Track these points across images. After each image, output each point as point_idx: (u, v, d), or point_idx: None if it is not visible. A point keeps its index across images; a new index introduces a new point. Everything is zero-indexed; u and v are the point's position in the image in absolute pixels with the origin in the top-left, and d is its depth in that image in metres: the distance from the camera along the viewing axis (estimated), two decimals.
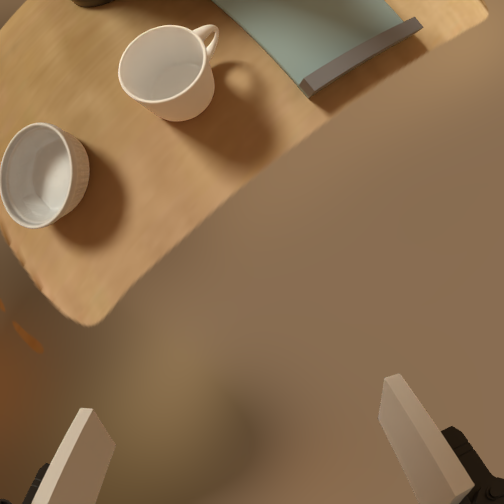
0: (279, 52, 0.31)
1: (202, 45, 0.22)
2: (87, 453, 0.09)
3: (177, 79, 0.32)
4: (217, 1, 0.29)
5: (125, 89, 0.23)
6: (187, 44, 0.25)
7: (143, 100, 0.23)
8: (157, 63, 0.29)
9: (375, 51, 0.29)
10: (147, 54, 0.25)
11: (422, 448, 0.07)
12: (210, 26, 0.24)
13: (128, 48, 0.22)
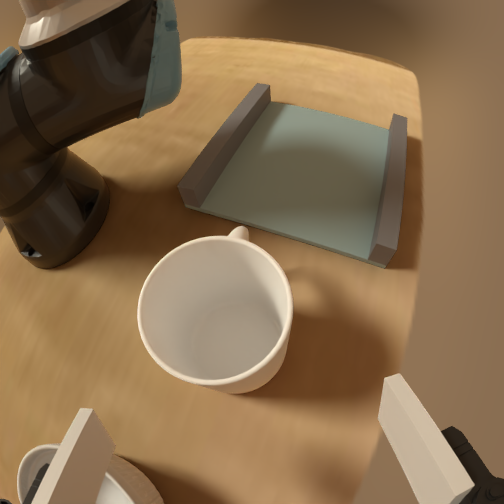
0: (321, 234, 0.29)
1: (262, 251, 0.17)
2: (87, 453, 0.09)
3: (222, 331, 0.25)
4: (210, 209, 0.31)
5: (175, 373, 0.14)
6: (221, 269, 0.21)
7: (220, 381, 0.14)
8: (185, 318, 0.23)
9: (403, 168, 0.29)
10: (170, 306, 0.20)
11: (422, 448, 0.07)
12: (242, 227, 0.21)
13: (142, 300, 0.16)
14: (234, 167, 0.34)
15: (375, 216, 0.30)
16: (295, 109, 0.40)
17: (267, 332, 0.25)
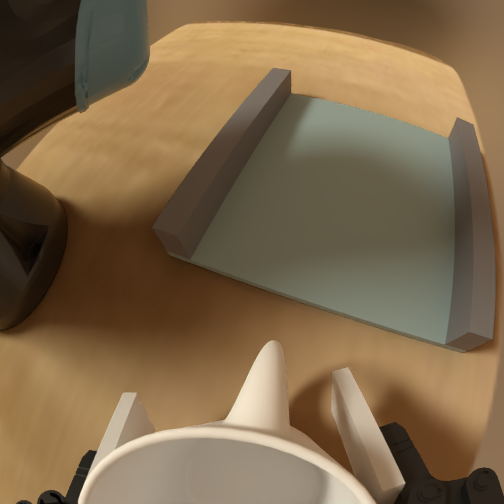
0: (382, 308, 0.17)
1: (333, 471, 0.05)
2: (133, 437, 0.10)
3: (230, 464, 0.14)
4: (206, 261, 0.20)
5: None
6: None
7: None
8: (173, 462, 0.12)
9: (488, 201, 0.17)
10: (142, 480, 0.08)
11: (359, 440, 0.08)
12: (274, 359, 0.09)
13: None
14: (244, 189, 0.23)
15: (452, 272, 0.18)
16: (326, 104, 0.28)
17: (300, 466, 0.13)
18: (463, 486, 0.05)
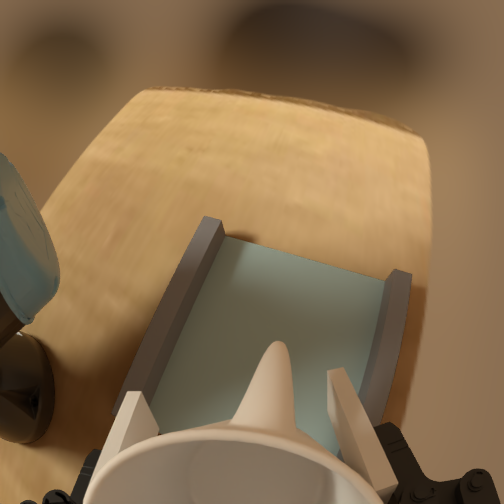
0: None
1: (341, 471, 0.05)
2: (138, 435, 0.10)
3: (233, 464, 0.14)
4: None
5: None
6: None
7: None
8: (176, 463, 0.12)
9: (388, 387, 0.21)
10: (146, 481, 0.08)
11: (353, 440, 0.08)
12: (279, 359, 0.09)
13: None
14: (176, 368, 0.27)
15: None
16: (258, 253, 0.32)
17: (303, 466, 0.13)
18: (457, 487, 0.05)
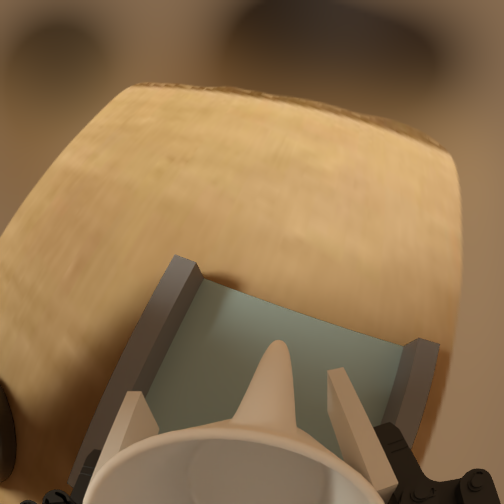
0: None
1: (342, 470, 0.05)
2: (138, 435, 0.10)
3: (233, 464, 0.14)
4: None
5: None
6: None
7: None
8: (176, 463, 0.12)
9: None
10: (146, 481, 0.08)
11: (352, 440, 0.08)
12: (280, 358, 0.09)
13: None
14: None
15: None
16: (243, 305, 0.24)
17: (303, 466, 0.13)
18: (457, 487, 0.05)
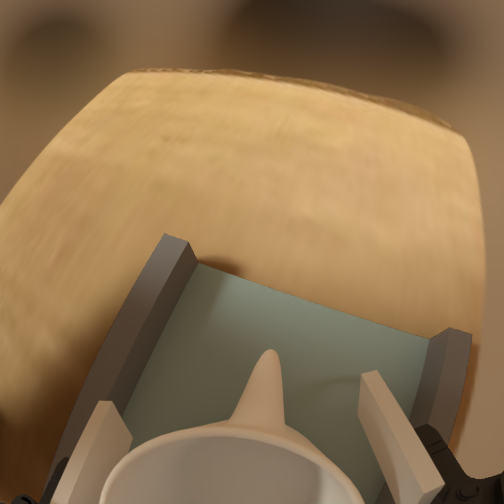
0: None
1: (321, 463, 0.07)
2: (107, 445, 0.10)
3: (232, 461, 0.15)
4: None
5: None
6: None
7: None
8: (179, 460, 0.13)
9: None
10: (153, 476, 0.10)
11: (394, 444, 0.08)
12: (271, 367, 0.11)
13: None
14: None
15: None
16: (244, 293, 0.21)
17: (296, 463, 0.15)
18: (497, 481, 0.04)
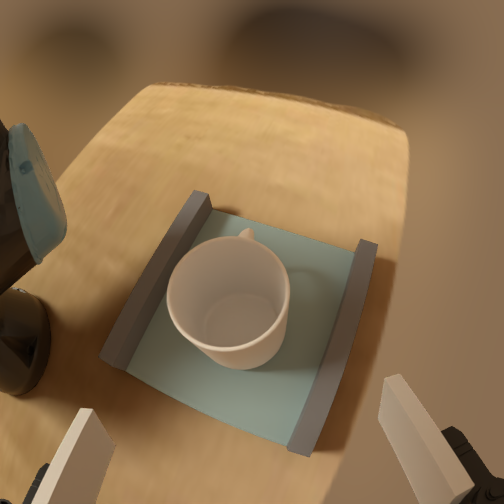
0: (240, 418, 0.25)
1: (265, 248, 0.22)
2: (87, 453, 0.09)
3: (230, 317, 0.30)
4: (134, 374, 0.28)
5: (198, 342, 0.19)
6: (231, 263, 0.26)
7: (233, 348, 0.18)
8: (200, 305, 0.28)
9: (350, 344, 0.25)
10: (189, 294, 0.25)
11: (422, 448, 0.07)
12: (249, 229, 0.26)
13: (170, 287, 0.21)
14: (160, 320, 0.31)
15: (306, 395, 0.26)
16: (239, 224, 0.36)
17: (269, 318, 0.30)
18: None
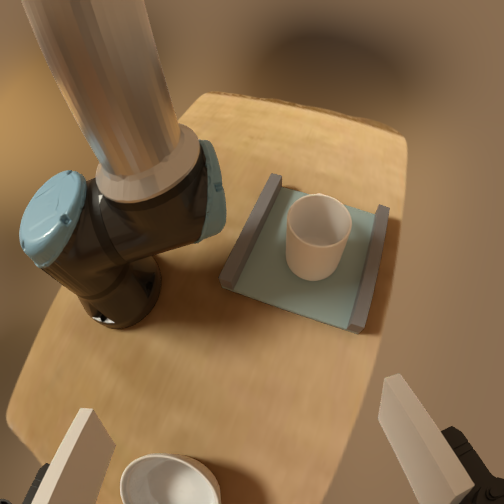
0: (316, 312, 0.43)
1: (336, 200, 0.40)
2: (87, 453, 0.09)
3: None
4: (240, 291, 0.46)
5: (309, 244, 0.36)
6: (311, 212, 0.44)
7: (328, 245, 0.36)
8: None
9: (379, 261, 0.43)
10: None
11: (422, 448, 0.07)
12: (321, 193, 0.43)
13: (288, 218, 0.39)
14: (256, 255, 0.48)
15: (355, 296, 0.44)
16: (301, 196, 0.54)
17: None
18: None
